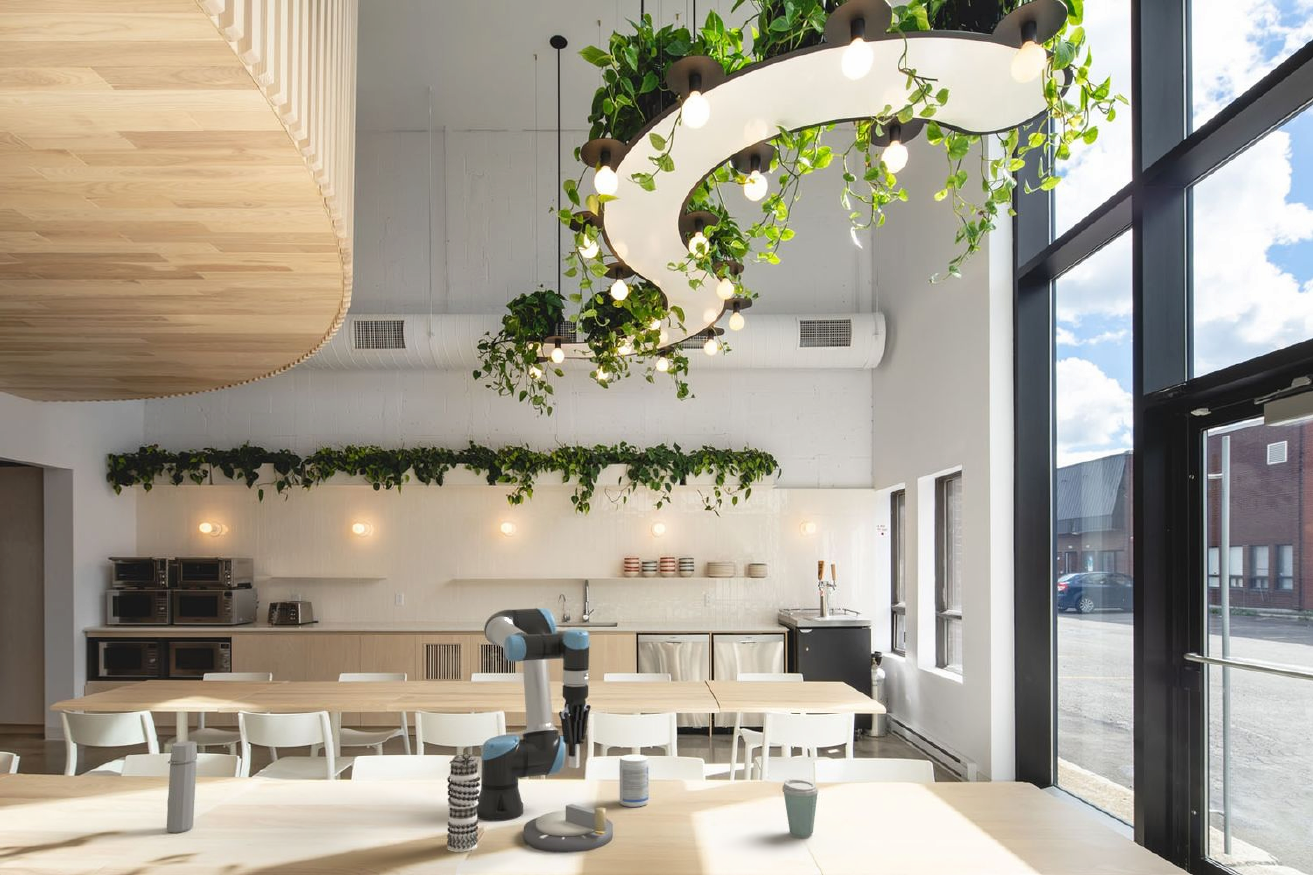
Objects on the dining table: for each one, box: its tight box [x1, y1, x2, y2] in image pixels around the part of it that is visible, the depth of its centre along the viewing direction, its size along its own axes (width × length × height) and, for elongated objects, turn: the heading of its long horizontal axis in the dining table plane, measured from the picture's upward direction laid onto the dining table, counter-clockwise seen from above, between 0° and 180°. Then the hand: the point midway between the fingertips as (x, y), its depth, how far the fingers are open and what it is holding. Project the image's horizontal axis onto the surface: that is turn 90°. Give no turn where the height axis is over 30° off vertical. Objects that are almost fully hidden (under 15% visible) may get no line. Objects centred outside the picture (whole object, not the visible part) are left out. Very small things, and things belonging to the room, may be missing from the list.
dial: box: [536, 803, 607, 836], centre depth 267 cm, size 24×19×7 cm
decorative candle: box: [446, 753, 481, 853], centre depth 260 cm, size 9×9×25 cm
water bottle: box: [166, 740, 198, 834], centre depth 275 cm, size 9×8×25 cm
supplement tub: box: [619, 754, 650, 808], centre depth 302 cm, size 10×10×15 cm
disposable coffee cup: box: [782, 778, 819, 839], centre depth 271 cm, size 11×11×15 cm
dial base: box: [522, 817, 614, 853], centre depth 268 cm, size 26×26×3 cm
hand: (574, 766), depth 265 cm, fingers closed
